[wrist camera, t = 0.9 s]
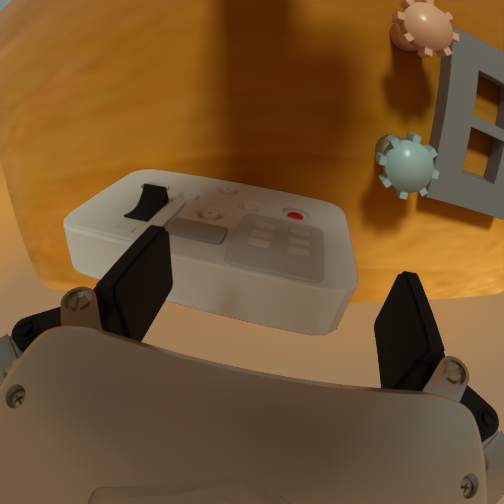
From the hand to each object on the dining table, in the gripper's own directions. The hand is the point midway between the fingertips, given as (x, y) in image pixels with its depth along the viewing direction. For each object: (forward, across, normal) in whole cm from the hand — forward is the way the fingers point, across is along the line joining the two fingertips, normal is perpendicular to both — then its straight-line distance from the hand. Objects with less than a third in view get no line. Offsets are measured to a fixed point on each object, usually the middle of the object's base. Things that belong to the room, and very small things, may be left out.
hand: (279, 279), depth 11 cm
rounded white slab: (+26, +8, +9) cm, 29 cm away
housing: (+26, -23, -9) cm, 36 cm away
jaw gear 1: (+26, -10, -17) cm, 33 cm away
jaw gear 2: (+26, -11, -2) cm, 28 cm away
